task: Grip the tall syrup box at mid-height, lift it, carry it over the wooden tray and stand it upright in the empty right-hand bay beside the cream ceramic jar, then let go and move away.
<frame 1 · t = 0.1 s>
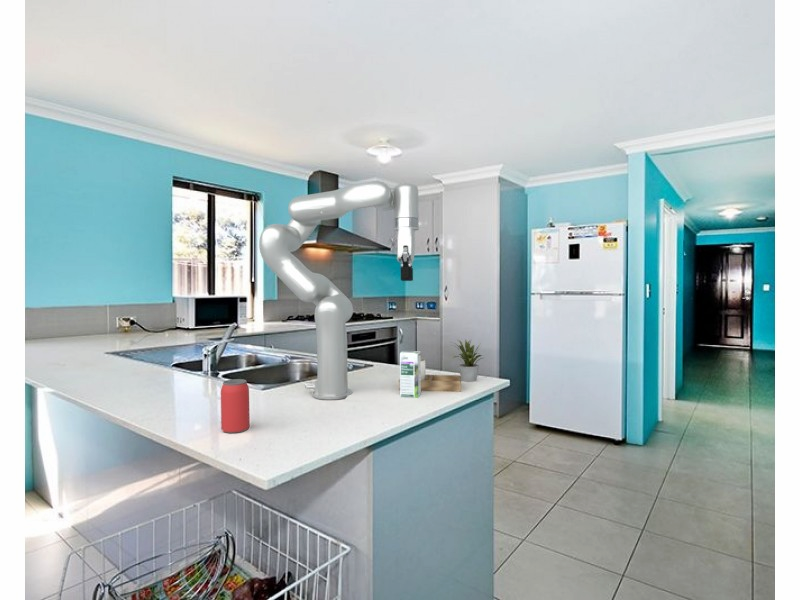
hand: (407, 280, 146), 36 cm above the worktop, tool pointing down, fingers open, 9 cm apart
wooden tray: (430, 389, 158), on the worktop
house plant: (465, 382, 170), on the worktop
beer can: (235, 430, 116), on the worktop
syrup box: (410, 398, 147), on the worktop
ceramic jar: (416, 387, 159), point 1 cm above the worktop, touching wooden tray
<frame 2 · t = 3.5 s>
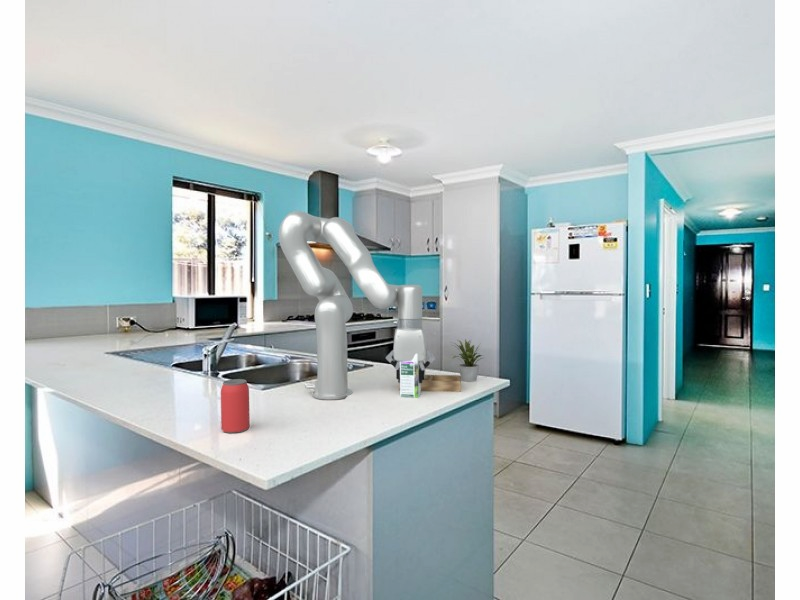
hand: (410, 381, 147), 5 cm above the worktop, tool pointing down, fingers closed on syrup box, 5 cm apart
syrup box: (410, 398, 147), on the worktop, touching gripper
everything else where it was.
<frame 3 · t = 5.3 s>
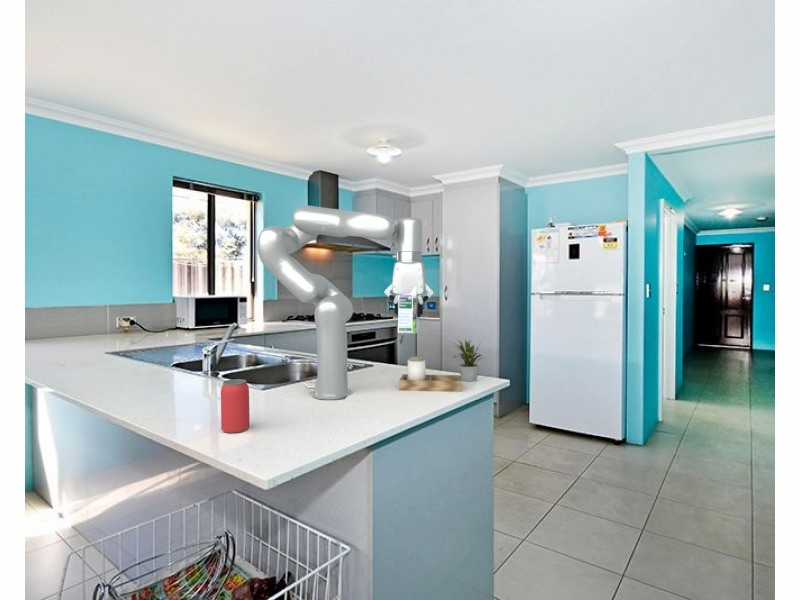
hand: (408, 316, 146), 25 cm above the worktop, tool pointing down, fingers closed on syrup box, 5 cm apart
syrup box: (408, 333, 147), point 20 cm above the worktop, touching gripper
everything else where it was.
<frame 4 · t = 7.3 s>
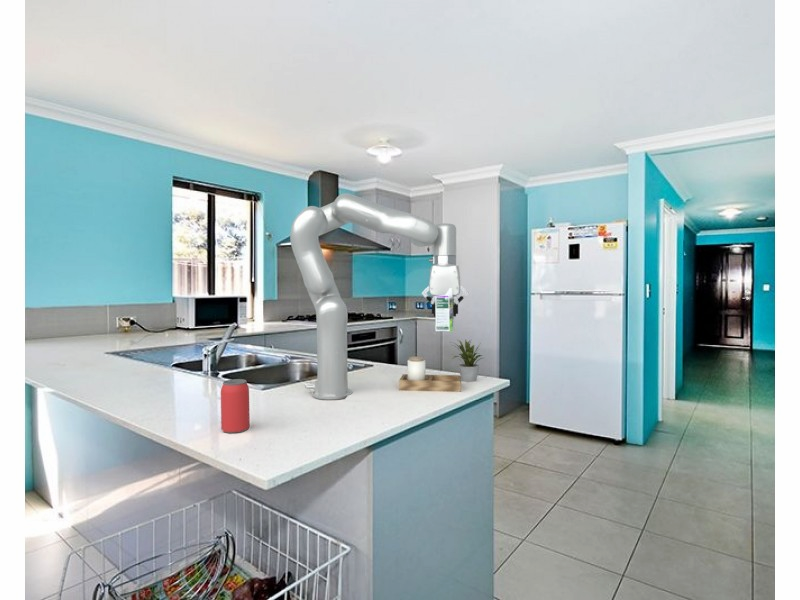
hand: (444, 315, 156), 25 cm above the worktop, tool pointing down, fingers closed on syrup box, 5 cm apart
syrup box: (444, 331, 157), point 20 cm above the worktop, touching gripper
everything else where it was.
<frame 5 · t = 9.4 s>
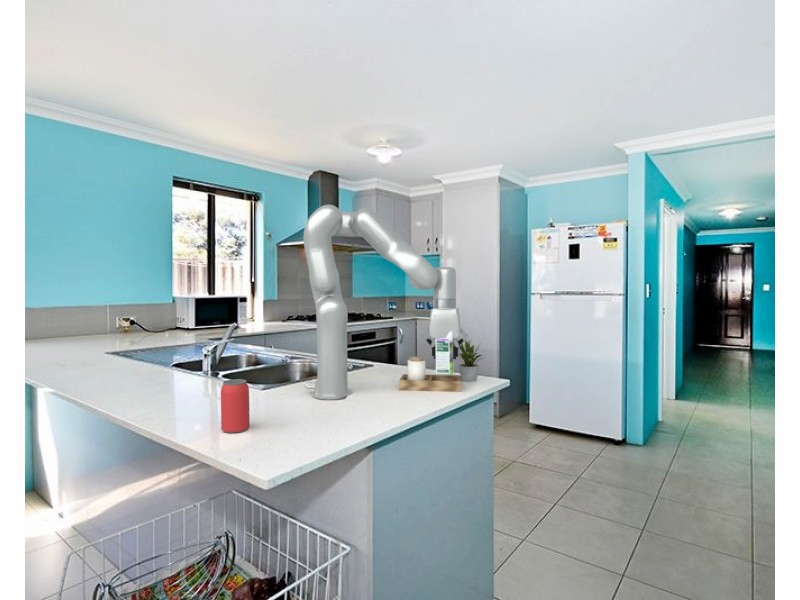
hand: (445, 358, 157), 11 cm above the worktop, tool pointing down, fingers closed on syrup box, 5 cm apart
syrup box: (445, 373, 157), point 5 cm above the worktop, touching gripper
everything else where it was.
when the fingers open (7 cm above the worktop, at t = 11.1 s): syrup box drops 1 cm, resting on wooden tray.
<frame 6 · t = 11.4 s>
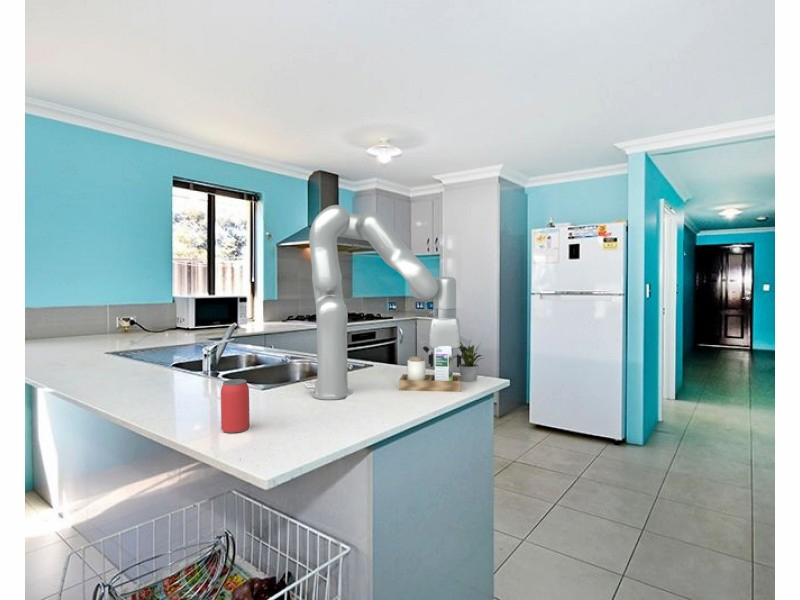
hand: (444, 366, 157), 8 cm above the worktop, tool pointing down, fingers open, 8 cm apart
syrup box: (443, 388, 157), point 1 cm above the worktop, touching wooden tray
everything else where it was.
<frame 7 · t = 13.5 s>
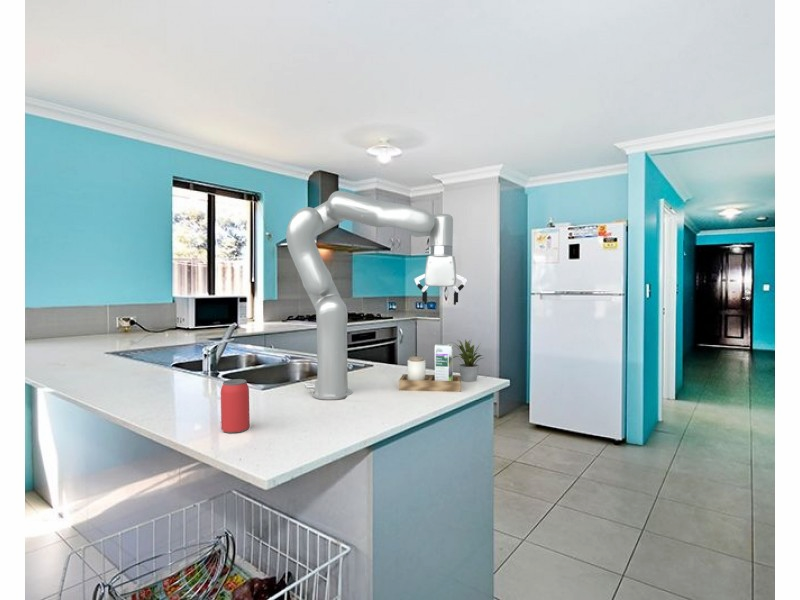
hand: (440, 304, 156), 29 cm above the worktop, tool pointing down, fingers open, 9 cm apart
nothing on the worktop moved.
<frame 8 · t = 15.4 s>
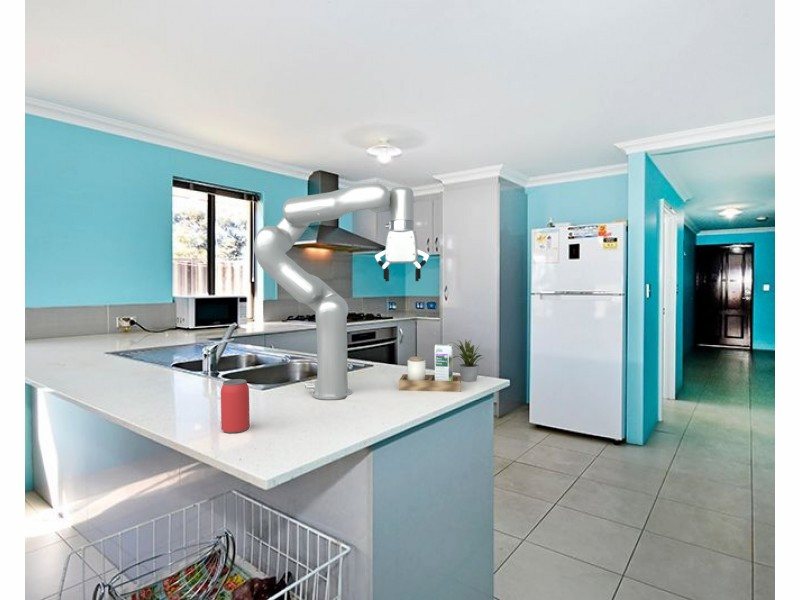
hand: (402, 281, 150), 36 cm above the worktop, tool pointing down, fingers open, 9 cm apart
nothing on the worktop moved.
at the end: syrup box 0.6 cm from the target spot on the wooden tray, point 0.6 cm above the wooden tray's base; syrup box tilted 0°; the gripper is holding nothing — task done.
